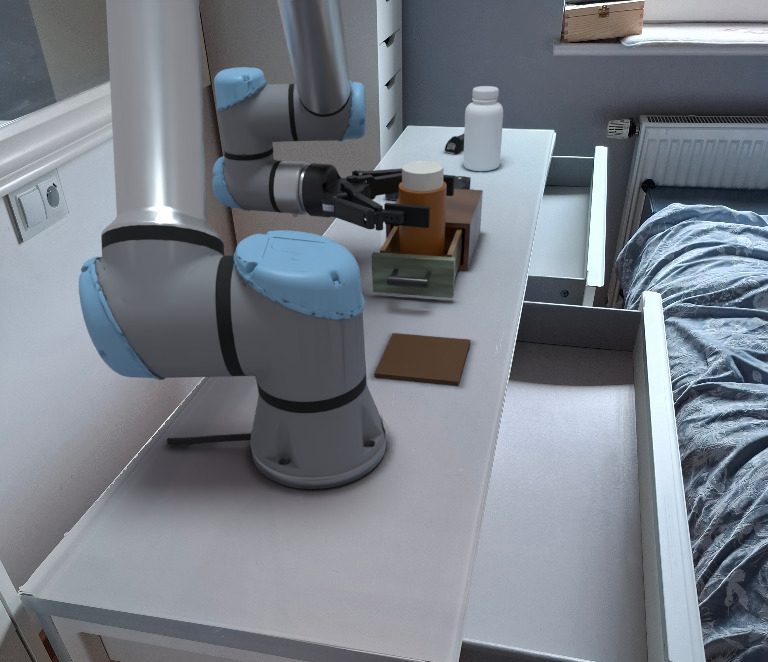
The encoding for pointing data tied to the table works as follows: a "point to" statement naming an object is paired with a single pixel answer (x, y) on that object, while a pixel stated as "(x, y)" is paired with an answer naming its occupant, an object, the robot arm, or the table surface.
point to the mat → (423, 359)
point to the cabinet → (462, 220)
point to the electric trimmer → (455, 144)
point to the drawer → (417, 267)
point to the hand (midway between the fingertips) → (442, 201)
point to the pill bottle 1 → (424, 190)
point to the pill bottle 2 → (483, 130)
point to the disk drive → (459, 181)
